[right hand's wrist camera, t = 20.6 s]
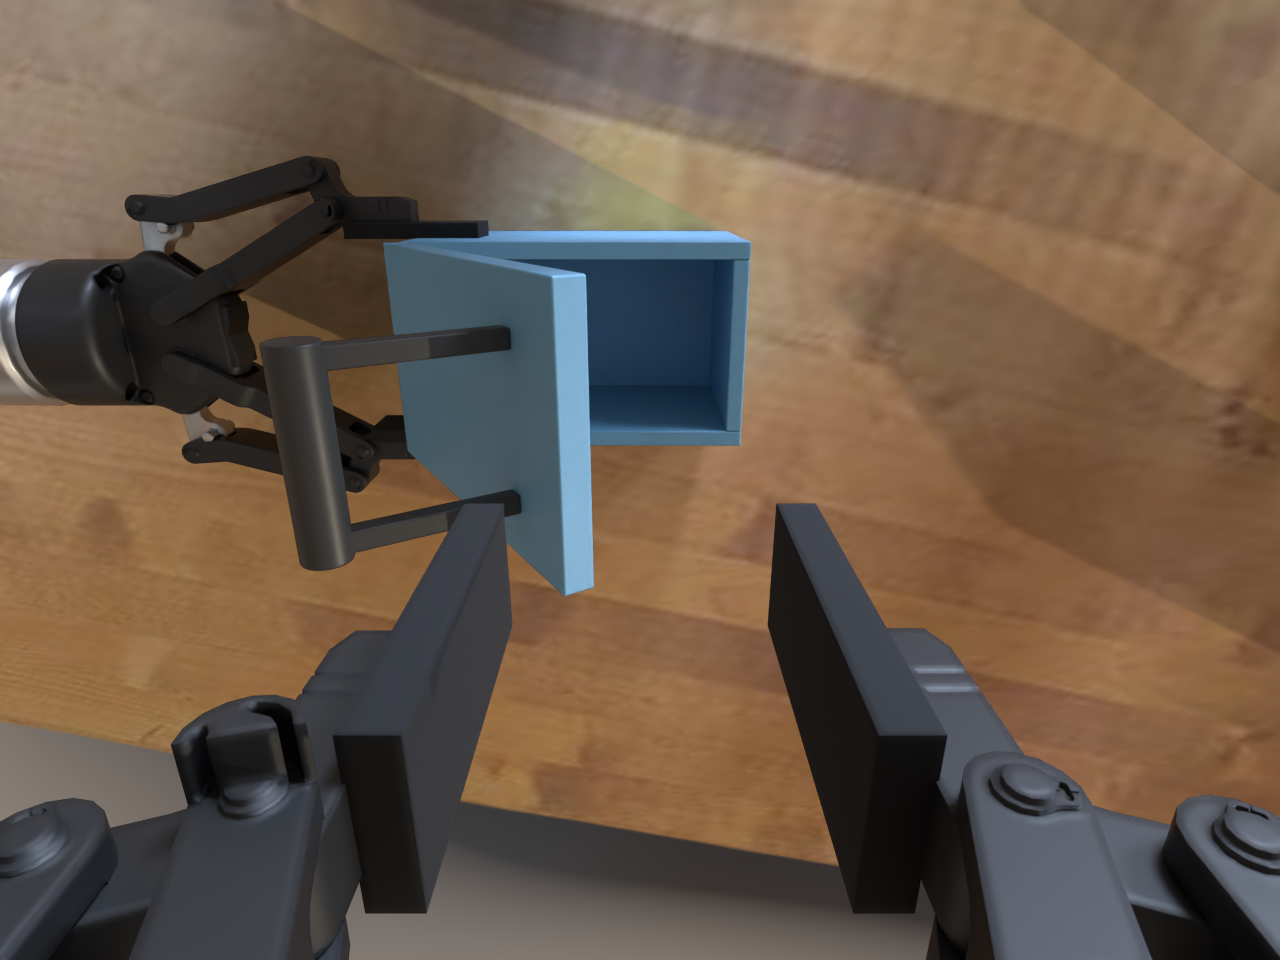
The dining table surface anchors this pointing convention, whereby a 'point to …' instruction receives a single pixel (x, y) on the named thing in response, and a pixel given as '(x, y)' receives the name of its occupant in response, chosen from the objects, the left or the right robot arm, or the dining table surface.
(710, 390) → the chest
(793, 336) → the dining table surface
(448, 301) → the lid
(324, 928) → the right robot arm
